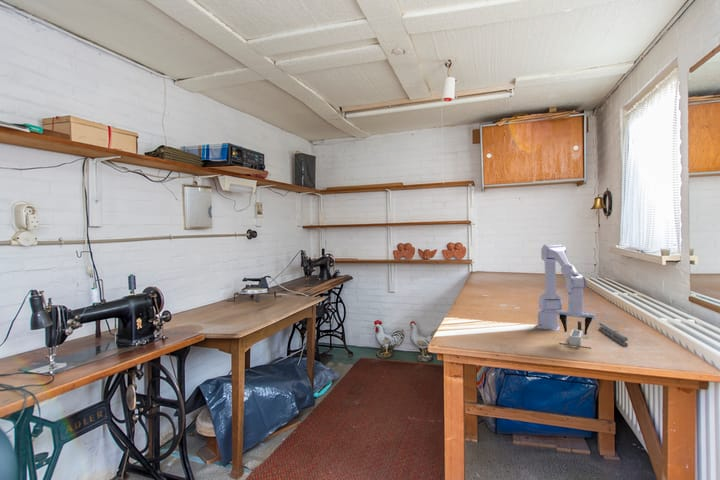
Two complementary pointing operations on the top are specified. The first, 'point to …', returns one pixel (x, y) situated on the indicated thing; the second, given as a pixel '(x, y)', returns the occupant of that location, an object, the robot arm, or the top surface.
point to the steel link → (575, 337)
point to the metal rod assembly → (613, 334)
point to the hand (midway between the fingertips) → (575, 332)
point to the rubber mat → (575, 346)
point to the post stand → (581, 330)
